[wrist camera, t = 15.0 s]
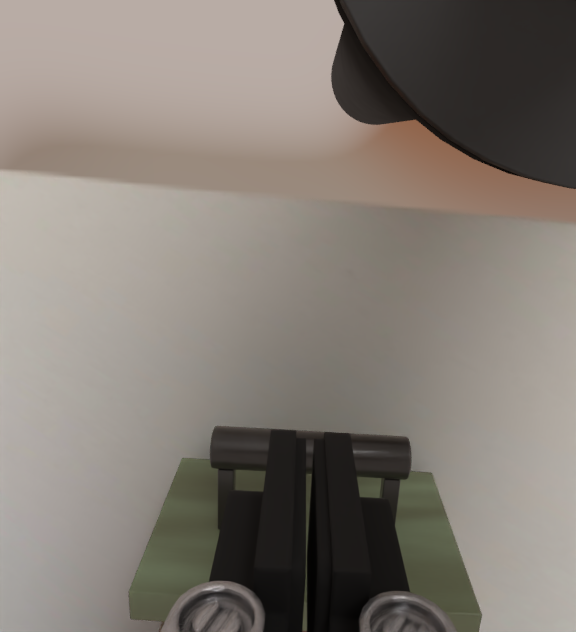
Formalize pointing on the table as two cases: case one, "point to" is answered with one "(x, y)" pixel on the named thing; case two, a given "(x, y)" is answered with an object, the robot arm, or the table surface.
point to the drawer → (249, 475)
